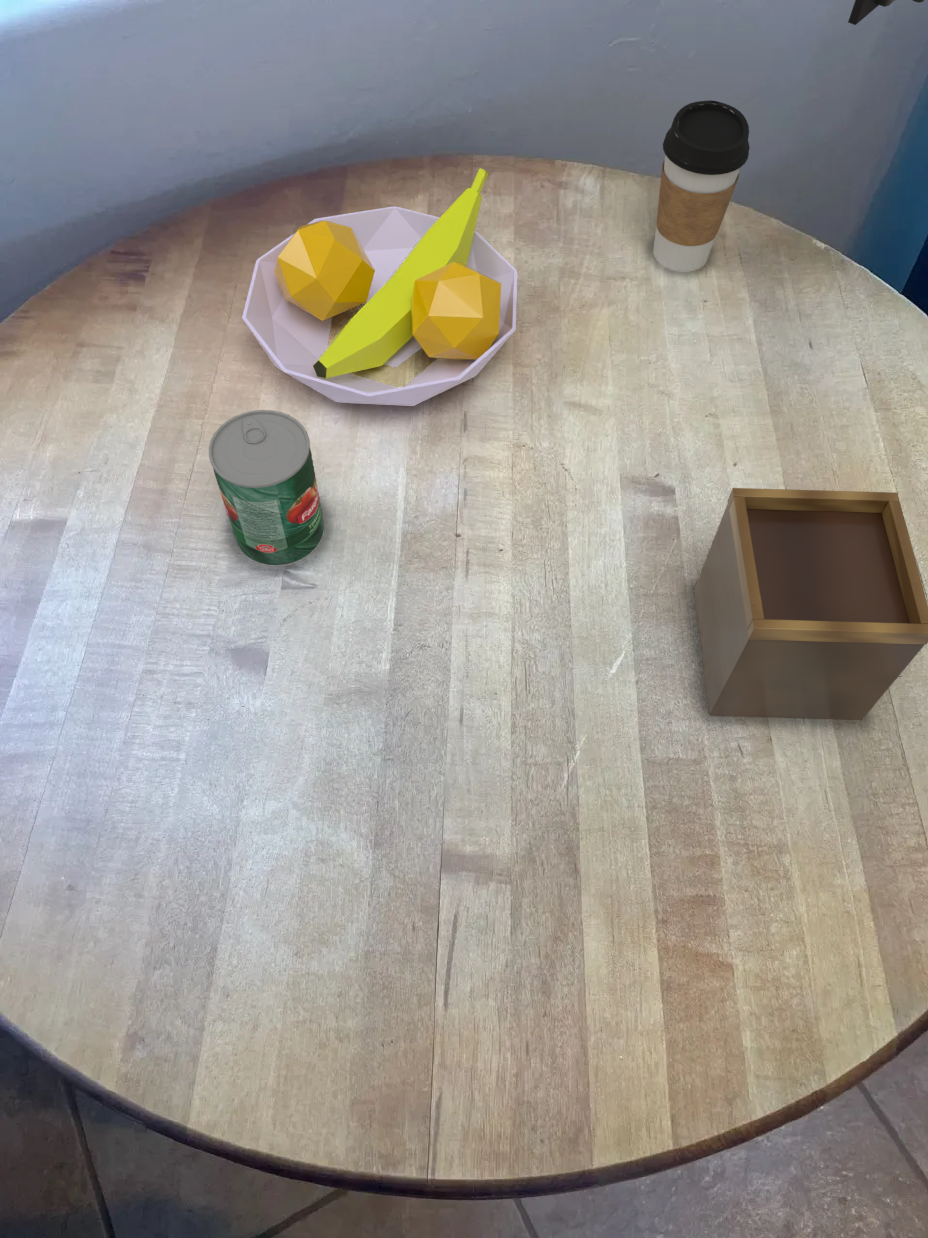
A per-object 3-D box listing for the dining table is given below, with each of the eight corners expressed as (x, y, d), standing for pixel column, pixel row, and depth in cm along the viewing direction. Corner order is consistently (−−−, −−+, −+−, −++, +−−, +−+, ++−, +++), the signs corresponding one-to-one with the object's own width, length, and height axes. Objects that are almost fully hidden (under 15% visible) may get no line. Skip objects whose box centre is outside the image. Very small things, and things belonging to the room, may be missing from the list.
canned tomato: (337, 551, 84) (323, 467, 74) (249, 579, 82) (223, 498, 72) (309, 485, 87) (292, 398, 78) (224, 511, 86) (197, 425, 76)
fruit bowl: (340, 480, 88) (327, 390, 78) (211, 310, 100) (186, 213, 90) (585, 363, 96) (600, 268, 86) (440, 218, 108) (439, 121, 98)
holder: (834, 593, 82) (897, 492, 70) (862, 722, 75) (936, 633, 64) (692, 589, 82) (732, 487, 70) (708, 717, 76) (754, 628, 64)
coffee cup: (720, 235, 107) (756, 103, 94) (717, 285, 102) (755, 153, 90) (644, 226, 108) (670, 93, 95) (638, 275, 103) (665, 143, 90)
